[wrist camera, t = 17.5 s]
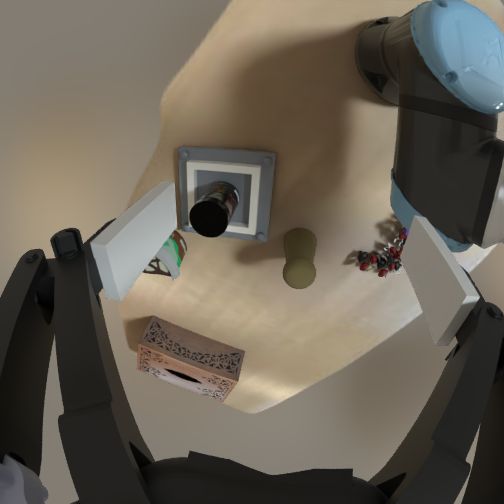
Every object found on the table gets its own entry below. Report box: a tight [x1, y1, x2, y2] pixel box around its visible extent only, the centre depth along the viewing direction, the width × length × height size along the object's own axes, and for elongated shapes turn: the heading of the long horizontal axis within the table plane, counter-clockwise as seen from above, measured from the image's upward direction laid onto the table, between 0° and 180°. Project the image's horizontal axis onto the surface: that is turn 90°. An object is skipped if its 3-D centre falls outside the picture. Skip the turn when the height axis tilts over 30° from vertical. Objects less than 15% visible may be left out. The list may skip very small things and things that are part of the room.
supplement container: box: [189, 181, 240, 237], centre depth 44 cm, size 6×6×9 cm
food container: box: [143, 230, 187, 280], centre depth 51 cm, size 12×6×10 cm, turn 86°
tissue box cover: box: [137, 316, 245, 402], centre depth 71 cm, size 26×14×10 cm, turn 70°
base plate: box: [178, 146, 276, 242], centre depth 47 cm, size 16×16×3 cm
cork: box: [283, 228, 316, 289], centre depth 47 cm, size 6×6×11 cm
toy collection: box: [358, 227, 409, 278], centre depth 47 cm, size 15×14×5 cm
